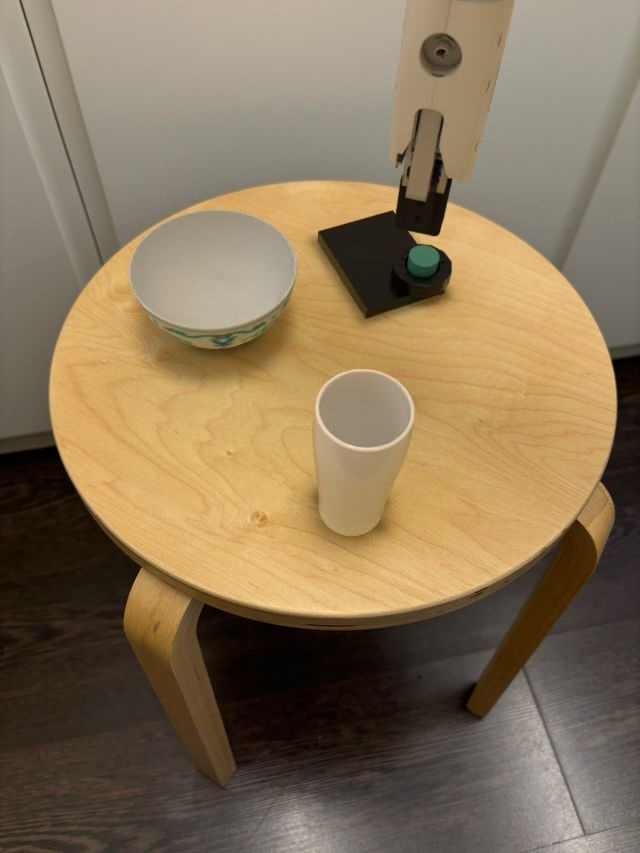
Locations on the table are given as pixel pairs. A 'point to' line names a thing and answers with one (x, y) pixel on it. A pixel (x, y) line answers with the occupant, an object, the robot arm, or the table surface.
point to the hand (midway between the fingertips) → (418, 224)
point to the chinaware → (213, 276)
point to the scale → (380, 264)
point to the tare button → (423, 261)
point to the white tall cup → (359, 446)
